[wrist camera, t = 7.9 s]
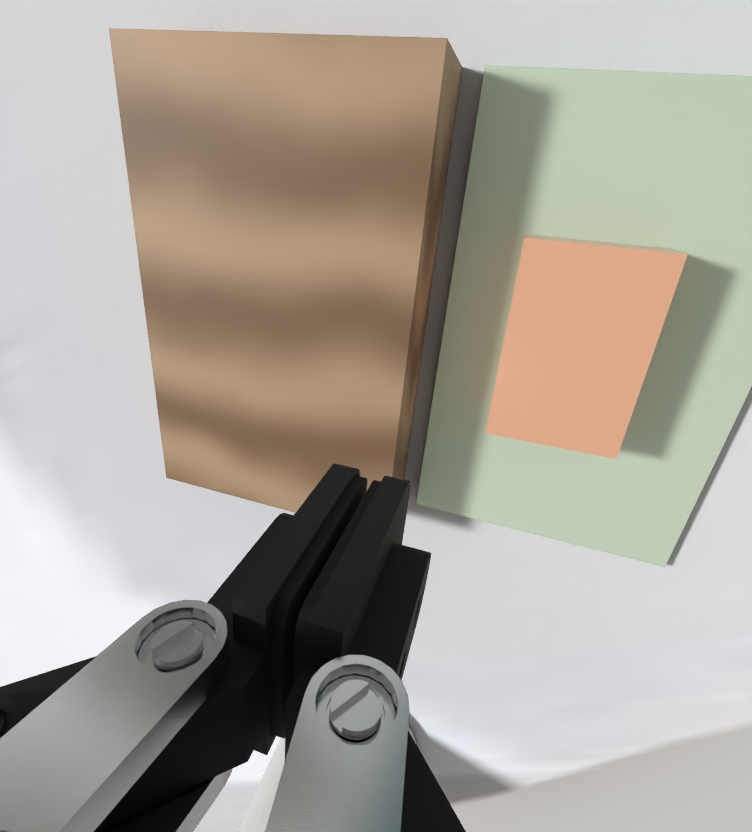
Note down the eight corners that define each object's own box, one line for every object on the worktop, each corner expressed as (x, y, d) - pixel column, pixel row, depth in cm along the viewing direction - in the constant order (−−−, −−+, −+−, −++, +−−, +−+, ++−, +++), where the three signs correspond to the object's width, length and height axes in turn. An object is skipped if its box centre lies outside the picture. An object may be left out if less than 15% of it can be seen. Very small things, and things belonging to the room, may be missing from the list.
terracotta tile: (485, 433, 23) (488, 413, 25) (616, 459, 22) (608, 436, 24) (524, 237, 19) (524, 233, 21) (687, 254, 18) (671, 248, 20)
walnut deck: (401, 496, 29) (384, 536, 26) (205, 447, 32) (166, 477, 29) (461, 66, 20) (446, 38, 16) (173, 54, 23) (108, 28, 19)
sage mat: (663, 562, 26) (664, 566, 26) (417, 500, 29) (416, 504, 29) (890, 84, 16) (897, 82, 16) (485, 67, 19) (484, 65, 19)
